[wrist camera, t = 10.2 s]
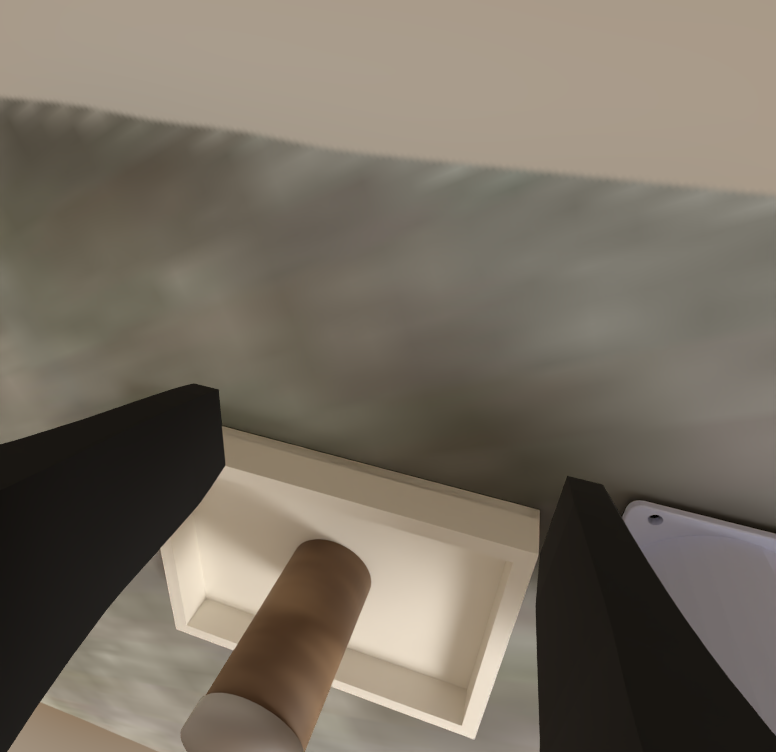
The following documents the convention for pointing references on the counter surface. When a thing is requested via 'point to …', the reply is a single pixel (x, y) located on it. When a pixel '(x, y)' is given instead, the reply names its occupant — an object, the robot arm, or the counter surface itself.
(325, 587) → the shaker
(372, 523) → the tray
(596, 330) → the counter surface
